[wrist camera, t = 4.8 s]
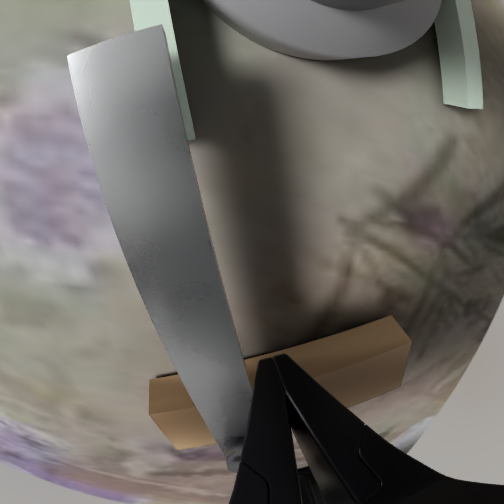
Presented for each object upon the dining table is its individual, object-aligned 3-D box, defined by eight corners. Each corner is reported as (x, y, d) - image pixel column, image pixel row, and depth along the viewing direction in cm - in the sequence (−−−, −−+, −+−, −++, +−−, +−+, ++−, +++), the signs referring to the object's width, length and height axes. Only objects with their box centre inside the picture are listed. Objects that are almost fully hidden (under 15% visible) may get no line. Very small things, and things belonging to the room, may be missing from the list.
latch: (266, 435, 11) (277, 473, 10) (227, 443, 11) (234, 482, 9) (166, 34, 5) (157, 12, 3) (85, 60, 5) (47, 51, 3)
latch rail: (383, 361, 14) (400, 386, 12) (175, 418, 13) (176, 449, 11) (391, 314, 12) (412, 341, 11) (149, 379, 11) (148, 414, 10)
